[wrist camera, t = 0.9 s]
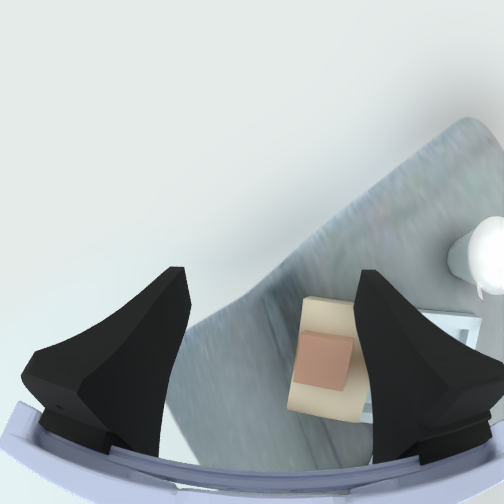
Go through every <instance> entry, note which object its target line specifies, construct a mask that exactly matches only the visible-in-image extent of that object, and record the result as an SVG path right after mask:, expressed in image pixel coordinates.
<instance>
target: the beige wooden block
mask: <svg viewBox="0 0 504 504" xmlns="http://www.w3.org/2000/svg"><path fill="white" fill-rule="evenodd" d="M354 302H355V301H347V300H339V299H331V298H324V297H316V296H309V297H306V298H304V299H303V307H302V315H301V322H300V329H299V336H298V343H297V349H296V356H295V362H294V368H293V374H292V380H291V386H290V392H289V397H288V403H287V408H286V409H289V410H293V411H297V412H301V413H306V414H310V415H315V416H320V417H325V418H330V419H336V420H341V421H347V422H353V423H359V421H360V418H361V415H362V411H363V408H364V404H365V401H366V397H367V393H368V390H369V386H370V383H369V377H368V372H367V368H366V364H365V360H364V356H363V353H362V349H361V345H360V342H359V338H358V334H357V330H356V325H355V318H354V311H353V306H354ZM305 330H307V331H313V332H319V333H325V334H332V335H338V336H345V337H352V338H355V339H354V345H353V350H352V355H351V360H350V365H349V369H348V374H347V379H346V383H345V386H344V390H343V392H342V391H336V390H331V389H325V388H320V387H315V386H310V385H305V384H300V383H296V382H293V379H294V373H295V367H296V361H297V355H298V349H299V342H300V335H301V334H302V333H303V332H304V331H305Z"/></svg>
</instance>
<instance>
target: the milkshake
mask: <svg viewBox="0 0 504 504" xmlns="http://www.w3.org/2000/svg"><path fill="white" fill-rule="evenodd" d="M447 264H448V267H449V269H450V271H451V273H452V274H453V275H455V276H457V277H458V278H460V279H462V280H464V281H467V282H469V283H471V284H473V285H475V286H476V287H477V290H478V297H479V298H480V299H481V300H482V302H483V296H482V290H483V291H485V292H487V293H489V294H492V295H501V294H504V218H503V217H497V216H493V217H489V218H487V219H485V220H483V221H482V222H481V223H480V224H479V225H478V226H476V227H475V228H474V229H473V230H472V231H470V232H469V233H467V234H466V235H464V236H463V237H462V238H460V239H459V240H457V241H456V242H455V243H454V244H453V245H452V247H451V248H450V249H449V251H448V258H447ZM481 289H482V290H481Z"/></svg>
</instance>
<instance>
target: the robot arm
mask: <svg viewBox="0 0 504 504" xmlns="http://www.w3.org/2000/svg"><path fill="white" fill-rule="evenodd" d="M191 305H192V304H191V299H190V295H189V290H188V285H187V280H186V274H185V269H184V267H169V268H168V269H167V270H165V271H164V272H163V273H162V274H161V275H160V276H158V277H157V278H156V279H155V280H154V281H153V282H152V283H151V284H149V285H148V286H147V287H146V288H145V289H144V290H143V291H141V292H140V293H139V294H138V295H137V296H135V297H134V298H133V299H132V300H130V301H129V302H128V303H127V304H125V305H124V306H123V307H122V308H120V309H119V310H117V311H116V312H115V313H113V314H112V315H110V316H109V317H107V318H106V319H104V320H103V321H101V322H100V323H98V324H96V325H94V326H93V327H91V328H89V329H87V330H86V331H84V332H82V333H80V334H78V335H76V336H74V337H72V338H70V339H67V340H65V341H63V342H60V343H58V344H56V345H52V346H50V347H47V348H44V349H41V350H38V351H36V352H34V354H33V356H32V357H31V359H30V361H29V362H28V364H27V366H26V367H25V369H24V371H23V373H22V374H21V379H22V382H23V383H24V385H25V386H26V388H27V389H28V390H29V391H30V392H31V394H32V395H34V397H35V398H36V399H37V400H38V401H39V402H40V403H41V404H42V405H43V406H44V407H45V410H44V412H43V414H42V413H41V412H40V411H38V410H37V409H35V408H33V407H31V406H29V405H27V404H25V403H23V402H21V401H18V402H17V405H16V406H15V408H14V410H13V412H12V414H11V416H10V419H9V421H8V423H7V425H6V427H5V429H4V432H3V434H2V436H1V438H0V450H2V451H3V452H5V453H6V454H7V455H9V456H10V457H11V458H13V459H15V460H16V461H17V462H19V463H20V464H22V465H23V466H25V467H26V468H28V469H29V470H31V471H33V472H34V473H36V474H38V475H39V476H40V477H42V478H44V479H46V480H47V481H49V482H51V483H53V484H54V485H56V486H58V487H60V488H62V489H64V490H65V491H67V492H70V493H71V494H74V495H75V496H77V497H80V498H82V499H84V500H86V501H88V502H90V503H93V504H461V503H463V502H465V501H467V500H469V499H472V498H473V497H476V496H477V495H479V494H481V493H483V492H485V491H487V490H489V489H491V488H493V487H494V486H496V485H498V484H500V483H502V482H503V481H504V419H503V420H501V421H499V422H497V423H495V424H493V425H492V426H489V423H488V420H490V419H491V413H490V409H491V408H492V407H493V406H494V405H495V404H496V403H497V402H498V401H499V400H500V399H501V398H502V396H503V395H504V364H503V363H502V362H500V361H498V360H496V359H493V358H491V357H489V356H486V355H484V354H482V353H480V352H478V351H476V350H474V349H472V348H470V347H469V346H467V345H465V344H463V343H462V342H460V341H458V340H457V339H455V338H454V337H452V336H451V335H449V334H448V333H446V332H445V331H443V330H442V329H441V328H439V327H438V326H437V325H435V324H434V323H433V322H431V321H430V320H429V319H428V318H426V317H425V316H424V315H423V314H422V313H421V312H419V311H418V310H417V309H416V308H415V307H414V306H413V305H412V304H411V303H410V302H408V301H407V300H406V299H405V298H404V297H403V296H402V295H401V294H400V293H399V292H398V291H397V290H396V289H395V288H394V287H393V286H392V285H391V284H390V283H389V282H388V281H387V280H386V279H385V278H384V277H383V276H382V275H381V274H380V273H379V272H378V271H376V270H362V272H361V276H360V281H359V285H358V290H357V294H356V298H355V302H354V306H353V311H354V318H355V325H356V330H357V334H358V338H359V342H360V345H361V349H362V353H363V356H364V360H365V364H366V368H367V372H368V377H369V383H370V391H371V401H372V415H373V454H372V457H371V459H370V462H369V464H368V465H367V466H360V467H352V468H343V469H333V470H320V471H298V472H270V471H247V470H234V469H223V468H215V467H207V466H200V465H193V464H187V463H181V462H176V461H171V460H166V459H161V458H158V457H159V442H160V432H161V424H162V416H163V410H164V404H165V398H166V393H167V388H168V383H169V378H170V374H171V371H172V367H173V365H174V362H175V359H176V356H177V353H178V350H179V347H180V345H181V342H182V339H183V336H184V333H185V330H186V327H187V324H188V320H189V315H190V310H191ZM165 480H166V481H165ZM168 481H171V482H175V483H180V484H186V485H192V486H197V487H204V488H211V489H219V490H228V491H239V492H254V493H310V492H325V491H336V490H345V489H351V490H350V491H349V494H347V495H339V494H315V495H251V494H237V493H227V492H218V491H210V490H200V489H192V488H191V489H190V488H189V489H188V488H185V489H184V488H182V489H178V488H177V487H176V485H175V484H174V483H171V482H168ZM352 488H353V489H352Z"/></svg>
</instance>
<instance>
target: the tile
mask: <svg viewBox="0 0 504 504" xmlns="http://www.w3.org/2000/svg"><path fill="white" fill-rule="evenodd" d="M354 339H355V338H352V337H345V336H338V335H332V334H325V333H319V332H313V331H307V330H305V331H304V332H303V333H302V334H301V335H300V342H299V349H298V355H297V361H296V367H295V373H294V379H293V382H296V383H300V384H305V385H310V386H315V387H320V388H325V389H331V390H336V391H342V392H343V390H344V386H345V383H346V379H347V374H348V369H349V365H350V360H351V355H352V350H353V345H354Z"/></svg>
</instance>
